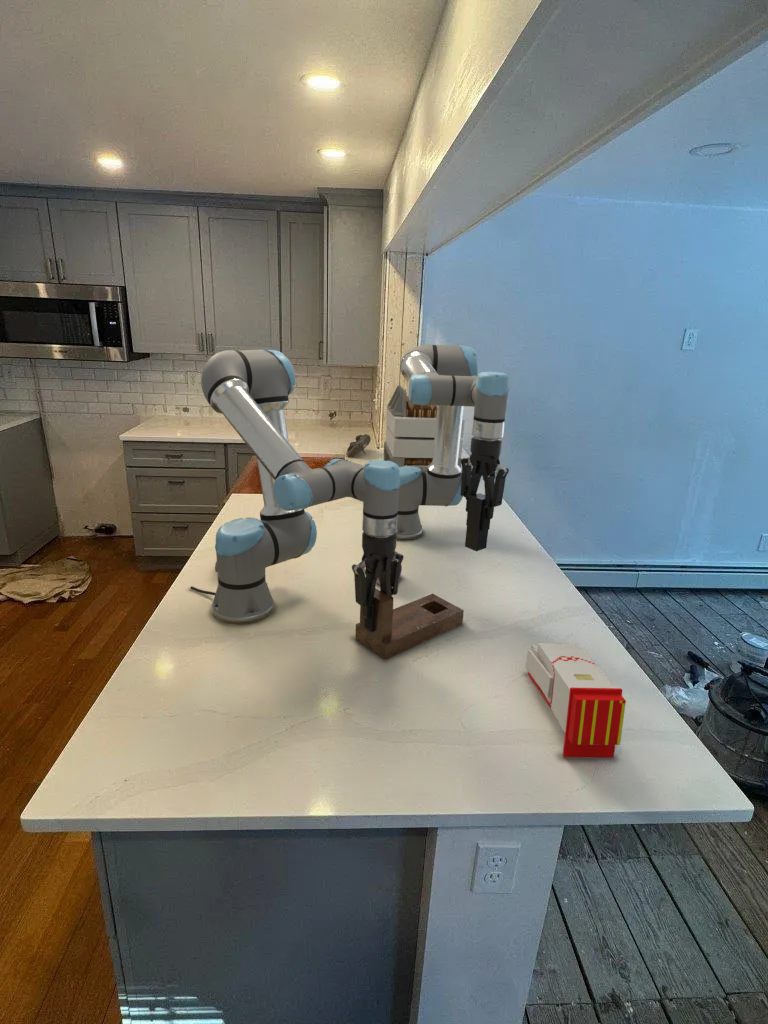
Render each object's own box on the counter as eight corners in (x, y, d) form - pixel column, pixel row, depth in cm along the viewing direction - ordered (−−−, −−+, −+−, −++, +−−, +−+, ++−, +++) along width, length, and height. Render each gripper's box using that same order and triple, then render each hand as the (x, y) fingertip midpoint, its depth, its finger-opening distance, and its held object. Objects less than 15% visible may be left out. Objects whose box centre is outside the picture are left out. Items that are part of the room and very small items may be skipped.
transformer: (382, 463, 289) (386, 382, 275) (445, 464, 293) (451, 384, 279) (390, 482, 257) (394, 392, 243) (460, 483, 261) (468, 394, 247)
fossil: (346, 440, 316) (367, 425, 311) (357, 453, 319) (378, 438, 314) (340, 453, 296) (362, 438, 291) (351, 468, 299) (374, 452, 294)
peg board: (355, 638, 136) (356, 586, 131) (431, 606, 152) (435, 559, 147) (385, 660, 128) (387, 605, 123) (462, 624, 144) (467, 574, 139)
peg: (464, 546, 148) (469, 495, 143) (474, 543, 150) (479, 492, 146) (476, 551, 145) (482, 499, 140) (486, 548, 148) (492, 496, 143)
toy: (573, 626, 127) (635, 696, 97) (567, 680, 129) (626, 765, 100) (519, 624, 126) (566, 695, 97) (515, 680, 129) (558, 764, 100)
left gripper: (361, 546, 115) (358, 645, 123) (418, 529, 125) (412, 622, 133) (339, 534, 121) (337, 630, 129) (395, 519, 131) (390, 609, 139)
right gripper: (450, 433, 141) (443, 520, 149) (505, 446, 130) (494, 541, 137) (470, 429, 146) (462, 515, 154) (525, 442, 134) (513, 534, 142)
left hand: (375, 626), depth 131 cm, fingers closed on peg board, 3 cm apart
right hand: (477, 527), depth 146 cm, fingers closed on peg, 4 cm apart
